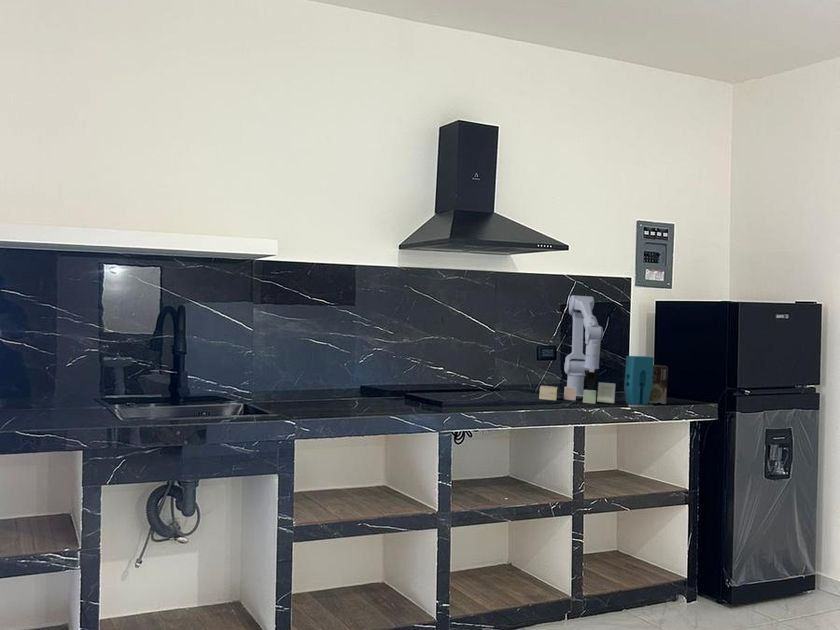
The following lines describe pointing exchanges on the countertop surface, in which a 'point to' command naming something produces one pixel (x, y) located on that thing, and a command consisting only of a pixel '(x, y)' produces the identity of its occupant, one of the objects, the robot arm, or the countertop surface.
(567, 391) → the pink cube
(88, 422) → the countertop surface
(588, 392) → the sage cube
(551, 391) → the base block
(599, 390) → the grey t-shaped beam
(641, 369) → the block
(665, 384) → the coffee box
